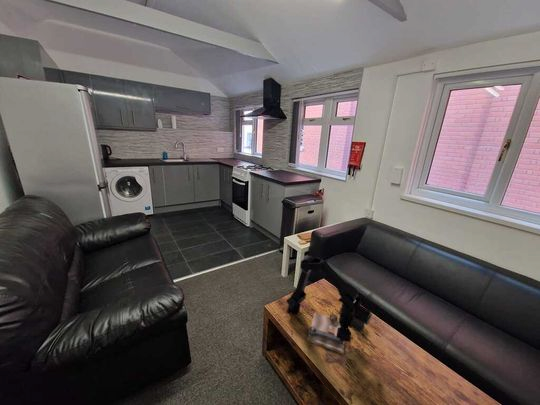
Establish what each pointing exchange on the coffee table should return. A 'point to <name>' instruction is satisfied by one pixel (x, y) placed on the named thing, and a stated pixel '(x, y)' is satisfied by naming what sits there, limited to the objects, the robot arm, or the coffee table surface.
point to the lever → (325, 335)
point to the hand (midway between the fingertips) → (342, 336)
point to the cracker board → (324, 325)
